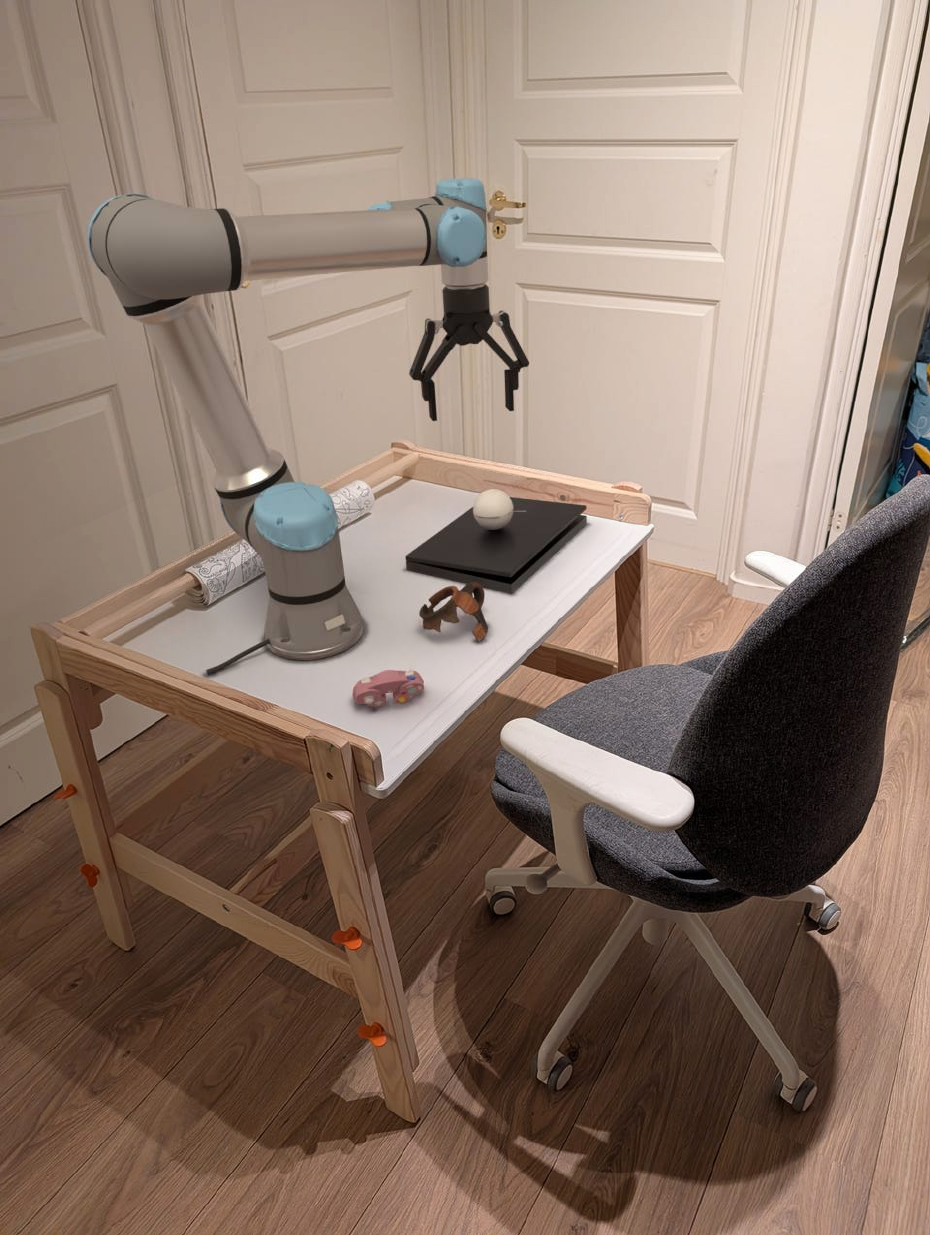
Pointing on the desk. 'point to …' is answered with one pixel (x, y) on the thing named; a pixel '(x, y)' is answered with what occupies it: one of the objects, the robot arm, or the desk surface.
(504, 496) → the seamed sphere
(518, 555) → the laptop screen
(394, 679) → the video game controller
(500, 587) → the laptop
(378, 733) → the desk surface
